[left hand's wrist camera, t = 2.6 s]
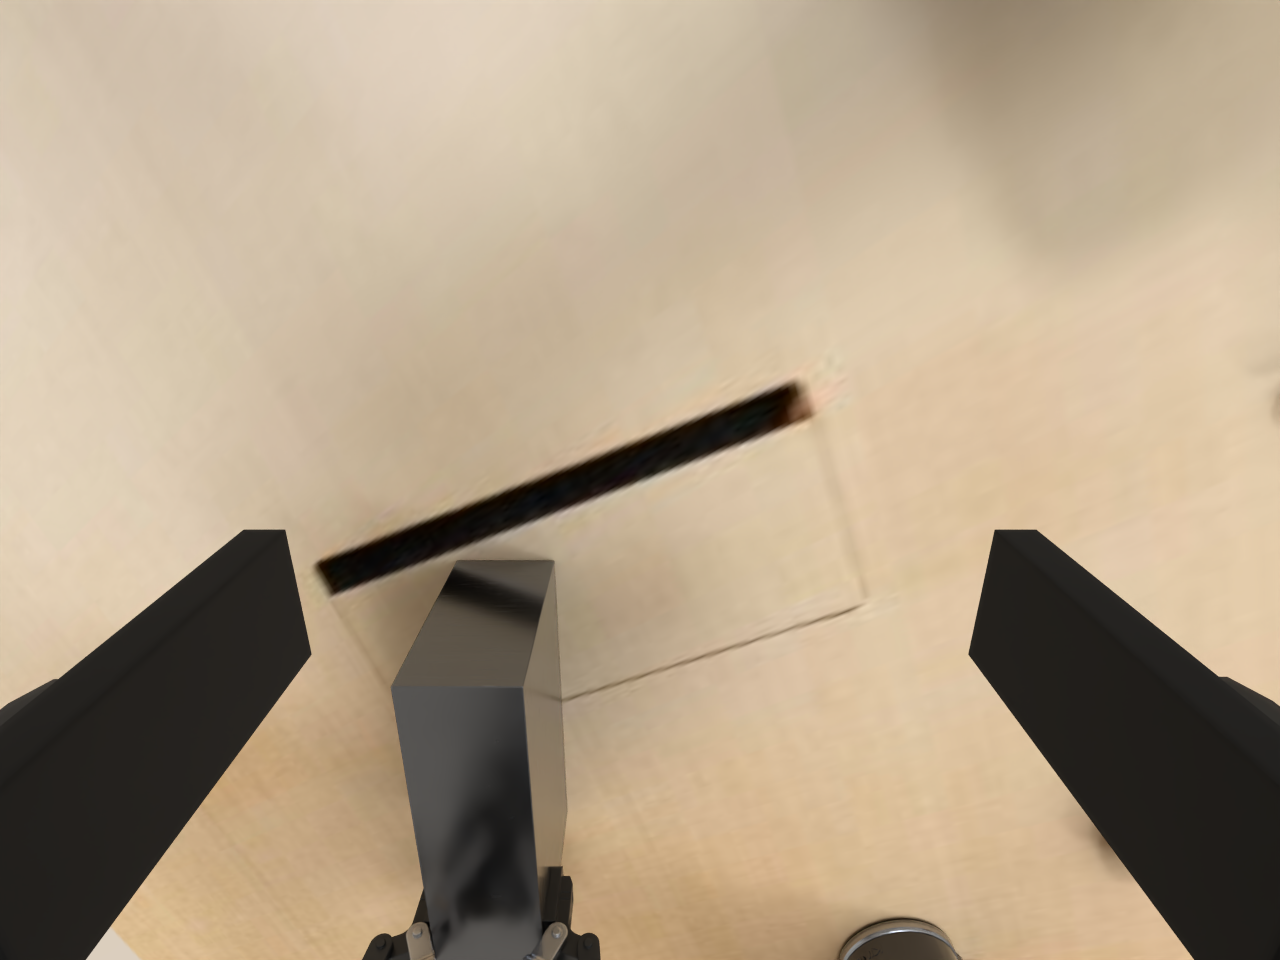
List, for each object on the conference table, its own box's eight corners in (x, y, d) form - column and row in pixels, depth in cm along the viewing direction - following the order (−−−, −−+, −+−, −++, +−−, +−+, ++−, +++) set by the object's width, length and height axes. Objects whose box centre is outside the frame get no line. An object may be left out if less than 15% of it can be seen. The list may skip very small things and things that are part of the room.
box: (456, 560, 43) (390, 686, 31) (554, 560, 43) (523, 686, 31) (484, 811, 51) (439, 986, 39) (567, 811, 51) (546, 986, 39)
